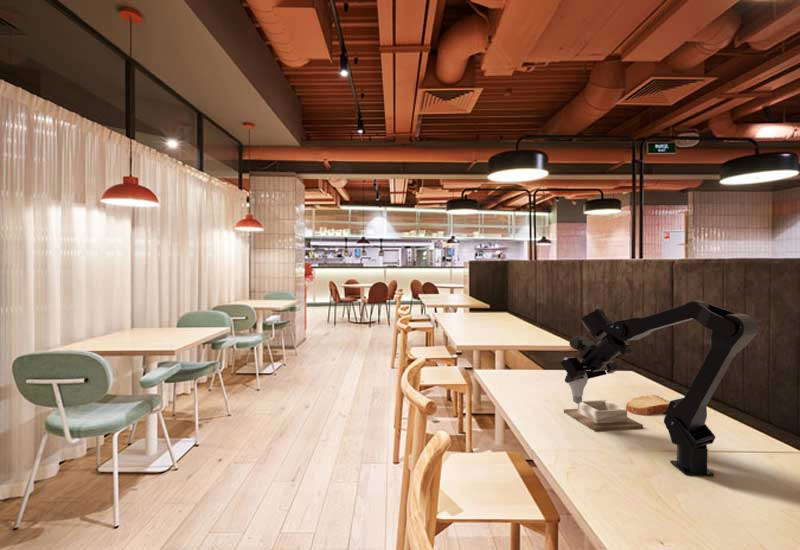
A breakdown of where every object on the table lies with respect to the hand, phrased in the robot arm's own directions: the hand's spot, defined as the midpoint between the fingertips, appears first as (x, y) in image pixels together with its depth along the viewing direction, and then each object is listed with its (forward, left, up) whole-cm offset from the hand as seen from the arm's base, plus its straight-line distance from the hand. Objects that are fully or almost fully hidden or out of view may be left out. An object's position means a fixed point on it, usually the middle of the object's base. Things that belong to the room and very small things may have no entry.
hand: (572, 380), depth 132 cm
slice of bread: (+16, -32, -13) cm, 38 cm away
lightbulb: (-1, -1, -7) cm, 7 cm away
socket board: (+3, -10, -13) cm, 16 cm away
